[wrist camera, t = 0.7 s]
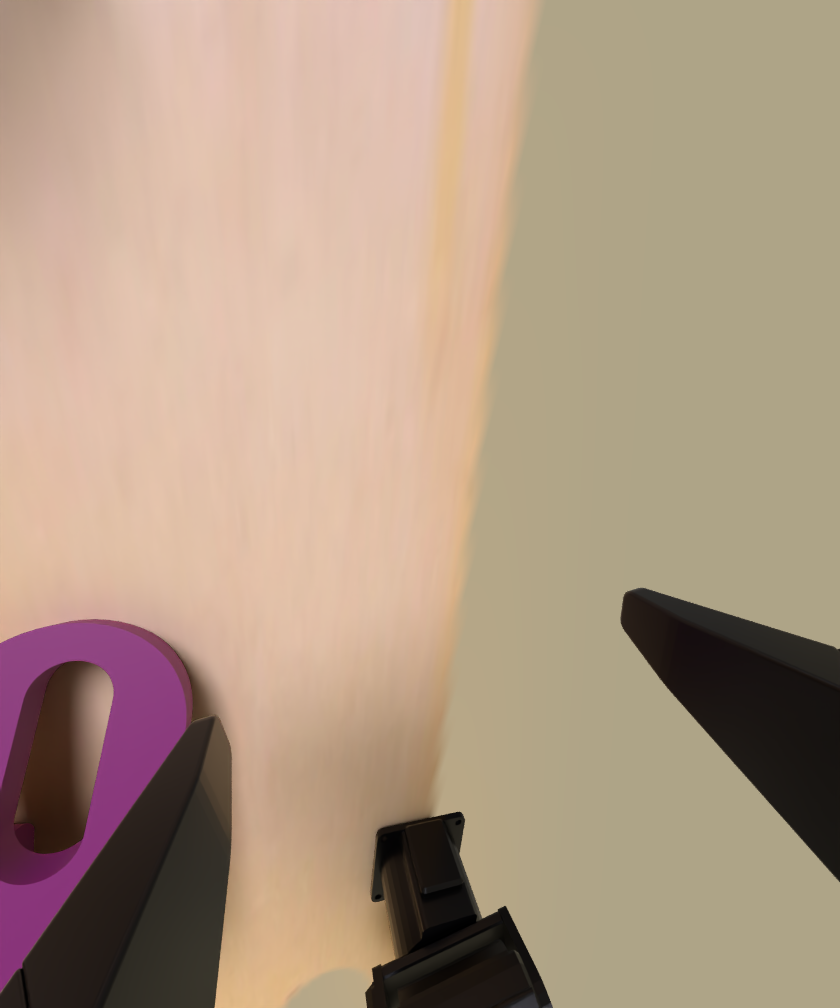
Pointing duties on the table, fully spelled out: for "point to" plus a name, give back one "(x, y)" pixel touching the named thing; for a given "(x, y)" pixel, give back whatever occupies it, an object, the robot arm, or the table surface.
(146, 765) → the mounting bracket
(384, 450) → the table surface
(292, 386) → the table surface
